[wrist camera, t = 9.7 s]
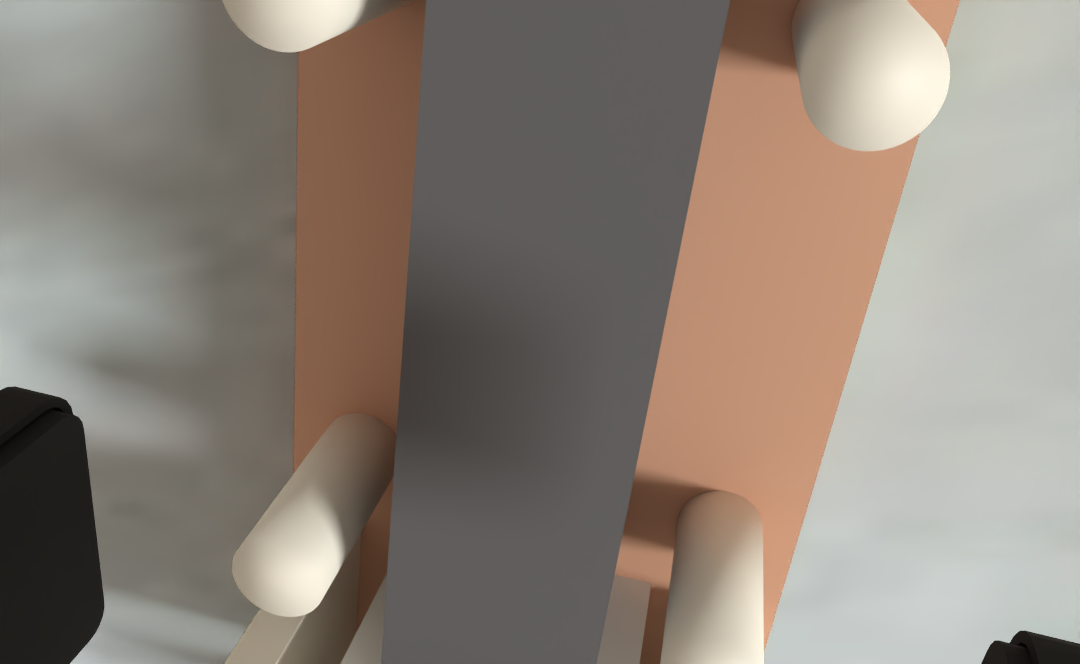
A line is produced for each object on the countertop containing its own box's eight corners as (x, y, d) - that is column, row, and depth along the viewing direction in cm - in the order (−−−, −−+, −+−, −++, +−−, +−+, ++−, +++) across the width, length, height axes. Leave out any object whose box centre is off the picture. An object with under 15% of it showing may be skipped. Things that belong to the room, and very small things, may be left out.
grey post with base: (502, -634, 12) (359, -898, 8) (916, -599, 12) (1009, -863, 7) (396, 702, 23) (308, 908, 18) (612, 756, 22) (576, 983, 18)
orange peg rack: (337, -667, 13) (94, -959, 8) (1123, -604, 12) (1364, -901, 7) (306, 719, 25) (198, 930, 20) (704, 820, 24) (689, 1069, 19)
